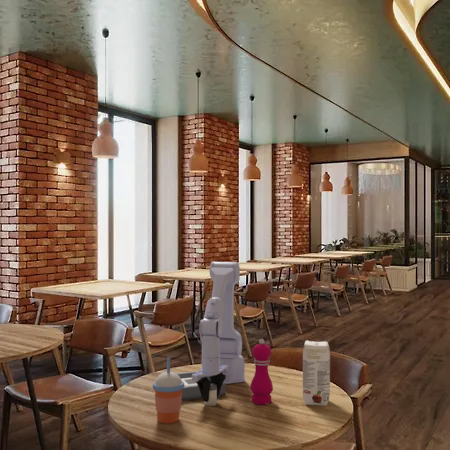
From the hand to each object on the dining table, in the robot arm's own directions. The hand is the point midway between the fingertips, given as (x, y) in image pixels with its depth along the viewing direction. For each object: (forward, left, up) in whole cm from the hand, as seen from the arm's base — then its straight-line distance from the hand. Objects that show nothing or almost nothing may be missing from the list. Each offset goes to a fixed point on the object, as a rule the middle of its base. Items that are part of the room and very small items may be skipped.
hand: (210, 399), depth 160 cm
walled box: (+1, -14, -1) cm, 14 cm away
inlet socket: (+1, -14, -1) cm, 14 cm away
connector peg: (0, 0, -1) cm, 1 cm away
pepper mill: (-16, +4, -2) cm, 17 cm away
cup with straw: (+16, +8, -2) cm, 18 cm away
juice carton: (-32, +11, -2) cm, 34 cm away
